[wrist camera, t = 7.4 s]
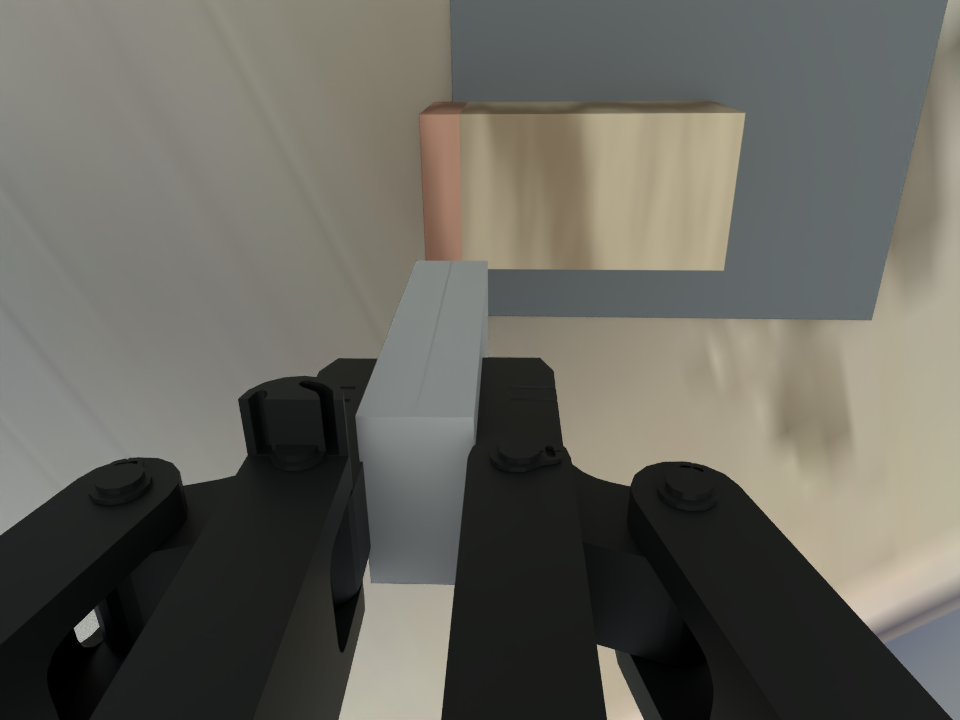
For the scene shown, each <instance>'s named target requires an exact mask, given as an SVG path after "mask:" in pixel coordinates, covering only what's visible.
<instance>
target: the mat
mask: <svg viewBox="0 0 960 720" xmlns="http://www.w3.org/2000/svg"><path fill="white" fill-rule="evenodd" d="M947 2H948V0H450V12H451V56H452V99H453V102H570V101H715V102H717V103H720V104H723V105H726V106H728V107H731V108H734V109H736V110H739V111H742V112H744V113H745V121H744V128H743V135H742V142H741V150H740V157H739V164H738V171H737V178H736V186H735V193H734V200H733V207H732V215H731V222H730V229H729V236H728V244H727V251H726V258H725V265H724V271H717V270H556V269H488V316H554V317H641V318H729V319H816V320H872V317H873V312H874V308H875V304H876V300H877V296H878V291H879V287H880V283H881V279H882V275H883V270H884V266H885V262H886V258H887V254H888V249H889V245H890V241H891V237H892V233H893V228H894V224H895V220H896V216H897V212H898V207H899V203H900V199H901V195H902V191H903V186H904V182H905V178H906V174H907V170H908V165H909V161H910V157H911V153H912V149H913V144H914V140H915V136H916V132H917V128H918V123H919V119H920V115H921V111H922V107H923V102H924V98H925V94H926V90H927V86H928V81H929V77H930V73H931V69H932V65H933V60H934V56H935V52H936V48H937V44H938V39H939V35H940V31H941V27H942V23H943V18H944V14H945V10H946V6H947Z"/></svg>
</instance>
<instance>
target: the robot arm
mask: <svg viewBox="0 0 960 720" xmlns="http://www.w3.org/2000/svg"><path fill="white" fill-rule="evenodd" d="M238 401H239V407H240V412H241V418H242V424H243V430H244V436H245V441H246V447H247V453H248V456H247V458H246V459H245V461H244V463H243V464H242V466H241V467H240V469H239V471H238V472H237V474H236V475H235V476H232V477H228V478H223V479H219V480H214V481H208V482H202V483H197V484H191V485H185V486H183V484H182V480H181V475H180V471H179V470H178V469H177V468H176V467H175V466H174V464H173V463H171V462H168V461H165V460H162V459H159V458H139V457H137V458H129V459H127V460H126V459H122V460H117V461H114V462H112V463H110V464H108V465H105V466H102V467H99V468H96V469H94V470H92V471H91V472H89V473H87V474H85V475H84V476H82V477H80V478H78V479H77V480H76V481H74V482H73V483H71V484H70V485H69V486H67V487H66V488H65V489H63V490H62V491H60V492H59V493H58V494H56V495H55V496H54V497H52V498H51V499H50V500H48V501H47V502H45V503H44V504H43V505H41V506H40V507H39V508H37V509H36V510H35V511H33V512H32V513H30V514H29V515H28V516H26V517H25V518H24V519H22V520H21V521H19V522H18V523H17V524H15V525H14V526H13V527H11V528H10V529H9V530H7V531H6V532H4V533H3V534H2V535H0V720H338V719H339V715H340V711H341V707H342V703H343V698H344V694H345V690H346V686H347V682H348V678H349V674H350V670H351V665H352V661H353V657H354V653H355V649H356V645H357V641H358V636H359V632H360V628H361V624H362V620H363V616H364V612H365V602H364V589H363V576H364V572H365V568H366V565H367V561H368V557H369V565H370V576H371V583H392V584H443V585H455V588H454V598H453V608H452V618H451V628H450V638H449V648H448V658H447V668H446V678H445V688H444V698H443V708H442V718H441V720H607V716H606V709H605V702H604V695H603V687H602V680H601V673H600V665H599V658H598V651H597V644H598V645H601V646H605V647H608V648H611V649H615V653H616V657H617V662H618V665H619V667H620V669H621V672H622V674H623V676H624V678H625V680H626V682H627V684H628V687H629V689H630V691H631V693H632V695H633V697H634V699H635V701H636V704H637V706H638V708H639V710H640V712H641V714H642V716H643V719H644V720H952V718H950V716H949V715H948V714H947V713H946V712H945V711H944V710H943V709H942V708H941V706H940V705H939V704H938V703H937V702H936V701H935V700H934V699H933V698H932V697H931V695H930V694H929V693H928V692H927V691H926V690H925V689H924V688H923V687H922V686H921V684H920V683H919V682H918V681H917V680H916V679H915V678H914V677H913V676H912V675H911V673H910V672H909V671H908V670H907V669H906V668H905V667H904V666H903V665H902V664H901V663H900V662H899V660H898V659H897V658H896V657H895V656H894V655H893V654H892V653H891V652H890V650H889V649H888V648H887V647H886V646H885V645H884V644H883V643H882V642H881V641H880V640H879V638H878V637H877V636H876V635H875V634H874V633H873V632H872V631H871V630H870V629H869V627H868V626H867V625H866V624H865V623H864V622H863V621H862V620H861V619H860V618H859V616H858V615H857V614H856V613H855V612H854V611H853V610H852V609H851V608H850V607H849V606H848V604H847V603H846V602H845V601H844V600H843V599H842V598H841V597H840V596H839V595H838V593H837V592H836V591H835V590H834V589H833V588H832V587H831V586H830V585H829V584H828V583H827V581H826V580H825V579H824V578H823V577H822V576H821V575H820V574H819V573H818V572H817V570H816V569H815V568H814V567H813V566H812V565H811V564H810V563H809V562H808V561H807V559H806V558H805V557H804V556H803V555H802V554H801V553H800V552H799V551H798V550H797V549H796V547H795V546H794V545H793V544H792V543H791V542H790V541H789V540H788V539H787V538H786V536H785V535H784V534H783V533H782V532H781V531H780V530H779V529H778V528H777V527H776V526H775V524H774V523H773V522H772V521H771V520H770V519H769V518H768V517H767V516H766V515H765V513H764V512H763V511H762V510H761V509H760V508H759V507H758V506H757V505H756V504H755V503H754V501H753V500H752V499H751V498H750V497H749V496H748V495H747V494H746V493H745V492H744V490H743V489H742V488H741V487H740V486H739V485H738V484H736V483H735V482H734V481H733V480H731V479H730V478H729V477H727V476H726V475H725V474H723V473H721V472H718V471H716V470H714V469H711V468H709V467H707V466H704V465H700V464H696V463H694V464H693V463H691V462H682V461H681V462H661V463H657V464H654V465H650V466H646V467H645V468H643V469H642V470H641V471H639V472H638V473H637V474H635V475H634V478H633V481H632V483H631V486H625V485H621V484H616V483H611V482H608V481H604V480H601V479H597V478H595V477H593V476H590V475H588V474H586V473H584V472H582V471H581V470H579V469H578V468H577V467H575V466H574V465H573V464H572V462H571V458H570V456H569V454H568V452H567V450H566V448H565V447H564V446H563V441H562V434H561V426H560V418H559V410H558V402H557V395H556V389H555V379H554V371H553V370H552V369H551V368H550V367H549V366H548V365H547V364H546V363H545V362H544V361H543V360H541V359H540V358H495V357H488V261H416V263H415V265H414V268H413V270H412V273H411V275H410V278H409V281H408V283H407V286H406V288H405V291H404V293H403V296H402V298H401V301H400V304H399V306H398V309H397V311H396V314H395V316H394V319H393V321H392V324H391V327H390V329H389V332H388V334H387V337H386V339H385V342H384V344H383V347H382V349H381V352H380V355H379V357H378V359H345V358H338V359H337V360H335V361H334V362H332V363H331V364H330V365H328V366H327V367H325V368H324V369H322V370H321V371H319V373H318V375H317V377H309V376H297V377H285V378H280V379H276V380H272V381H268V382H265V383H262V384H260V385H258V386H256V387H254V388H252V389H249V390H248V391H247V392H246V393H245V394H243V395H242V396H241V397H240V398H239V399H238ZM93 609H94V610H95V613H96V617H97V620H98V623H99V626H100V627H99V628H98V629H97V630H96V631H95V632H94V633H93V634H92V635H91V636H90V637H88V638H87V639H86V640H84V641H83V642H81V643H80V642H79V641H78V640H77V637H76V634H75V631H74V627H75V626H76V625H77V624H78V623H79V622H81V621H82V620H83V619H84V618H85V617H86V616H87V615H88V614H89V613H90V612H91V611H92V610H93Z"/></svg>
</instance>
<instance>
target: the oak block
mask: <svg viewBox="0 0 960 720" xmlns="http://www.w3.org/2000/svg"><path fill="white" fill-rule="evenodd" d="M419 120H420V143H421V165H422V188H423V211H424V234H425V257H426V261H488V269H556V270H717V271H724V265H725V258H726V251H727V244H728V236H729V229H730V222H731V215H732V207H733V200H734V193H735V186H736V178H737V171H738V164H739V157H740V150H741V142H742V135H743V128H744V121H745V113H744V112H742V111H739V110H736V109H734V108H731V107H728V106H726V105H723V104H720V103H717V102H715V101H570V102H434V103H433V104H432V105H430V106H429V107H428V108H427V109H425V110H424V111H423V112H422V113H421V114H419Z"/></svg>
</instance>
